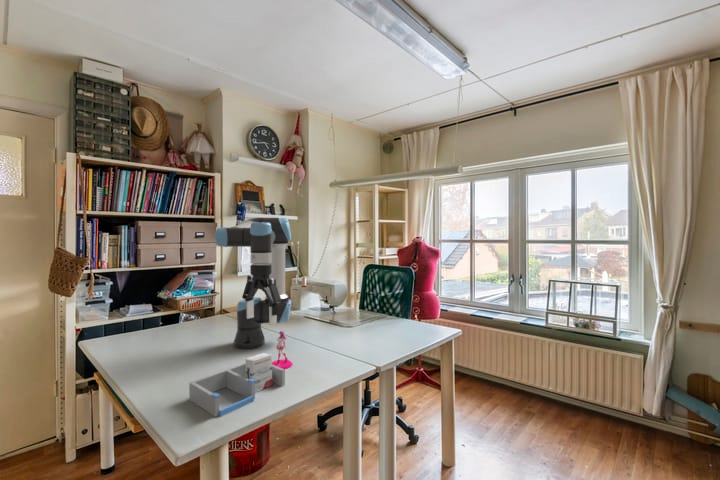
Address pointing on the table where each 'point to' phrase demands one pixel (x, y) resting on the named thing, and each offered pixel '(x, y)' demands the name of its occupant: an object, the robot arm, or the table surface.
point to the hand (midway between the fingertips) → (261, 320)
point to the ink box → (260, 370)
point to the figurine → (280, 346)
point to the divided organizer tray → (232, 379)
